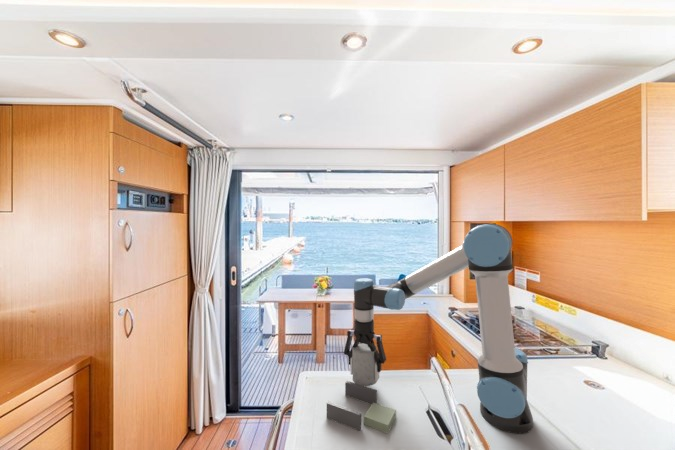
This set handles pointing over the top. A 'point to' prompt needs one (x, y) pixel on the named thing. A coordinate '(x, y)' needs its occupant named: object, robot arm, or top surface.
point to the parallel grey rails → (349, 415)
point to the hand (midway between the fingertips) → (364, 376)
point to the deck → (380, 417)
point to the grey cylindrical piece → (363, 365)
